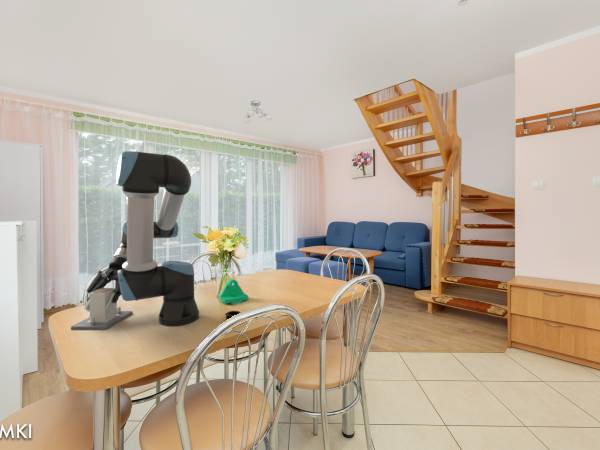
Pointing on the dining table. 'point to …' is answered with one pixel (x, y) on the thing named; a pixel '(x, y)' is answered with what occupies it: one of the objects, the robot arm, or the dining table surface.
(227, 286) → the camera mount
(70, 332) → the dining table surface
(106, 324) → the grey base plate
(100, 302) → the block
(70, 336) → the dining table surface
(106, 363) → the dining table surface
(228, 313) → the duct tape
